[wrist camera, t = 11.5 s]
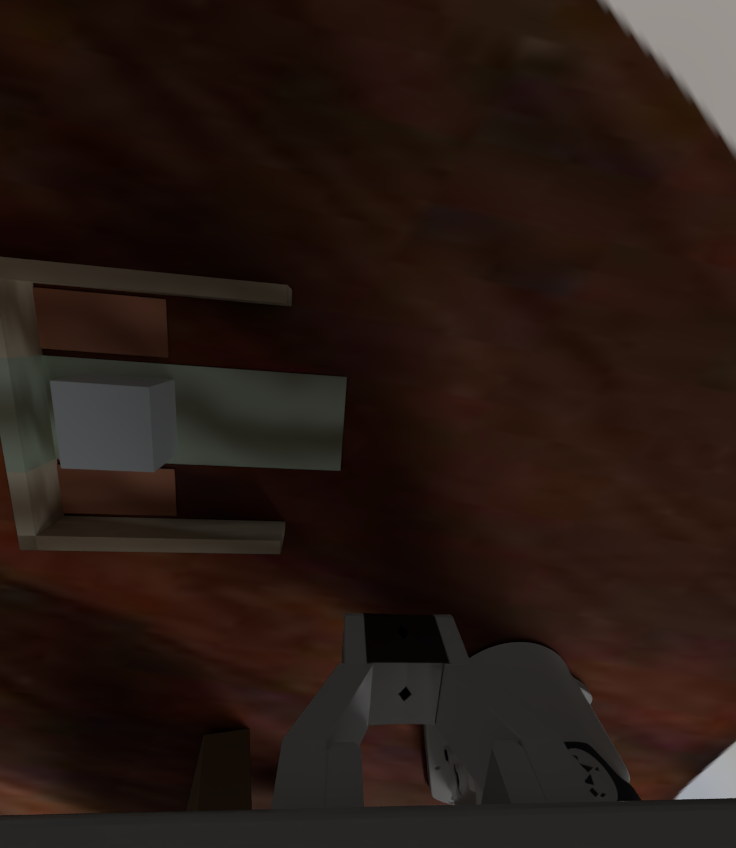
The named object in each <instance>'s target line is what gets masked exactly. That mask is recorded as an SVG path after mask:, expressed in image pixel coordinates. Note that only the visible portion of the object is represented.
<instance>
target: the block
mask: <svg viewBox="0 0 736 848" xmlns="http://www.w3.org/2000/svg"><path fill="white" fill-rule="evenodd" d="M50 387H51V395H52V403H53V410H54V418H55V426H56V434H57V441H58V449H59V457H60V465H61V468H65V469H89V470H112V471H136V472H155V471H156V470H158V469H159V468H160V467H161V466H163V465H164V464H165V463H166V462H168V461H169V460H170V459H171V458H173V457H174V456H175V455H176V454H178V446H177V424H176V401H175V379H164V378H149V377H135V376H121V375H107V374H93V373H89V374H83V375H78V376H72V377H67V378H61V379H56V380H50Z"/></svg>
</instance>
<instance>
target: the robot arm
mask: <svg viewBox="0 0 736 848" xmlns="http://www.w3.org/2000/svg"><path fill="white" fill-rule="evenodd" d="M591 703H592V696H591V694H590V692H589V690H588V689H587V687H586V686H585V685H584V684H583V683H582V682H580V681H579V680H577V679H575V678H574V677H573V676H572V675H571V674H570V672H569V670H568V668H567V666H566V664H565V662H564V661H563V660H562V658H561V657H560V656H559V655H558V654H557V653H555V652H554V651H552V650H551V649H549V648H547V647H544V646H542V645H539V644H534V643H528V642H512V643H505V644H500V645H496V646H493V647H490V648H488V649H485V650H483V651H481V652H479V653H477V654H475V655H474V656H472V657H471V658H469V657H468V654H467V652H466V649H465V647H464V644H463V641H462V639H461V636H460V634H459V631H458V629H457V626H456V624H455V621H454V618H453V617H452V616H451V615H450V614H441V615H395V614H371V613H364V614H363V613H345V617H344V631H343V646H342V663H340V664H338V665H337V667H336V668H335V670H334V671H333V672H332V674H331V675H330V676H329V678H328V679H327V680H326V682H325V683H324V684H323V686H322V687H321V688H320V690H319V691H318V693H317V694H316V695H315V697H314V698H313V699H312V701H311V702H310V703H309V705H308V706H307V707H306V709H305V710H304V711H303V713H302V714H301V716H300V717H299V718H298V720H297V721H296V722H295V724H294V725H293V726H292V728H291V729H290V730H289V732H288V733H287V734H286V736H285V737H284V739H283V740H282V745H281V751H280V757H279V763H278V769H277V775H276V781H275V787H274V793H273V799H272V805H271V809H255V810H212V811H169V812H127V813H84V814H42V815H0V848H736V798H727V799H683V800H641V799H640V797H639V796H638V794H637V793H636V791H635V790H634V788H633V787H632V786H631V785H630V784H629V781H630V776H629V773H628V770H627V768H626V766H625V764H624V763H623V761H622V759H621V757H620V756H619V754H618V752H617V750H616V749H615V747H614V745H613V744H612V742H611V740H610V738H609V737H608V735H607V733H606V731H605V730H604V728H603V726H602V725H601V723H600V721H599V719H598V718H597V716H596V714H595V713H594V711H593V709H592V707H591V706H590V705H591ZM401 723H402V724H423V730H424V741H425V751H426V762H427V773H428V782H429V787H430V791H431V794H432V797H433V798H435V799H437V800H439V801H442V802H444V803H448V804H453V805H428V806H384V807H364V801H363V779H362V757H361V748H360V747H359V745H360V743H361V741H362V739H363V737H364V735H365V733H366V730H367V728H368V725H381V724H401Z"/></svg>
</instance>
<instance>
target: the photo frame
mask: <svg viewBox="0 0 736 848" xmlns="http://www.w3.org/2000/svg"><path fill="white" fill-rule="evenodd" d="M212 810H252V801H251V766H250V731H249V729H242V730H235V731H228V732H221V733H214V734H207V735H204V736H203V740H202V744H201V748H200V753H199V757H198V761H197V765H196V770H195V774H194V778H193V782H192V786H191V791H190V795H189V799H188V803H187V807H186V811H212Z"/></svg>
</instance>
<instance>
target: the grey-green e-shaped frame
mask: <svg viewBox="0 0 736 848" xmlns="http://www.w3.org/2000/svg"><path fill="white" fill-rule="evenodd" d="M33 283H41V284H52V285H63V286H73V287H84V288H95V289H106V290H117V291H128V292H139V293H150V294H161V295H171V296H182V297H193V298H204V299H215V300H226V301H237V302H248V303H259V304H269V305H280V306H291V307H292V289H291V288H290V287H289V286H288V285H283V284H273V283H263V282H252V281H242V280H232V279H222V278H212V277H201V276H191V275H181V274H171V273H161V272H151V271H140V270H130V269H120V268H110V267H100V266H89V265H79V264H69V263H59V262H49V261H39V260H28V259H18V258H8V257H0V436H1V442H2V448H3V454H4V460H5V465H6V471H7V477H8V483H9V489H10V494H11V500H12V506H13V512H14V518H15V523H16V529H17V535H18V541H19V547H20V550H60V551H121V552H182V553H242V554H280V552H281V548H282V544H283V540H284V535H285V522H282V521H244V520H206V519H169V518H131V517H93V516H64V513H80V514H117V515H154V516H177V506H176V486H175V469H162V468H159V469H158V470H156V471H155V472H136V471H112V470H89V469H65V468H61V465H60V464H57V459H60V457H59V449H58V441H57V434H56V426H55V418H54V410H53V403H52V395H51V387H50V380H56V379H61V378H67V377H72V376H78V375H83V374H89V373H93V374H107V375H121V376H135V377H149V378H164V379H175V401H176V424H177V446H178V454H176V455H175V456H174V457H173V458H171V459H170V460H169V461H168V462H166V463H169V464H192V465H216V466H239V467H263V468H286V469H310V470H333V471H340V469H341V455H342V440H343V426H344V411H345V397H346V382H347V377H340V376H326V375H312V374H298V373H284V372H270V371H256V370H242V369H228V368H214V367H200V366H186V365H172V364H158V363H144V362H130V361H116V360H102V359H88V358H74V357H60V356H46V355H43V354H42V349H56V350H70V351H83V352H97V353H110V354H124V355H138V356H151V357H165V358H169V349H168V329H167V309H166V299H158V298H146V297H135V296H124V295H113V294H102V293H91V292H80V291H69V290H58V289H47V288H36V287H33Z"/></svg>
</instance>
